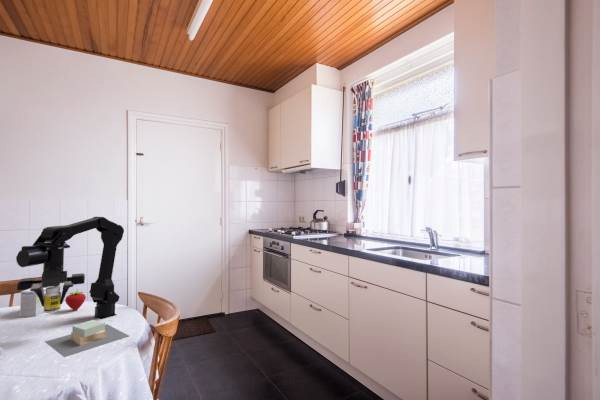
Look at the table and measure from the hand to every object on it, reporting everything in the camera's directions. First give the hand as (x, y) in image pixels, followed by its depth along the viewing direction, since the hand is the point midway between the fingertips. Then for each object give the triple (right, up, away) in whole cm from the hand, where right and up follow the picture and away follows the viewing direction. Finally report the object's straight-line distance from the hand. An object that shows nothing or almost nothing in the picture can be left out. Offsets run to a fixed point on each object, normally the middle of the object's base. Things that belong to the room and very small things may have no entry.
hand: (52, 305), depth 112 cm
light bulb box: (-27, -12, +25) cm, 38 cm away
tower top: (+14, -9, -1) cm, 17 cm away
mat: (+14, -12, -1) cm, 18 cm away
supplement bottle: (0, -2, 0) cm, 2 cm away
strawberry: (-12, -12, +28) cm, 33 cm away
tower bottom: (+14, -12, -1) cm, 18 cm away
